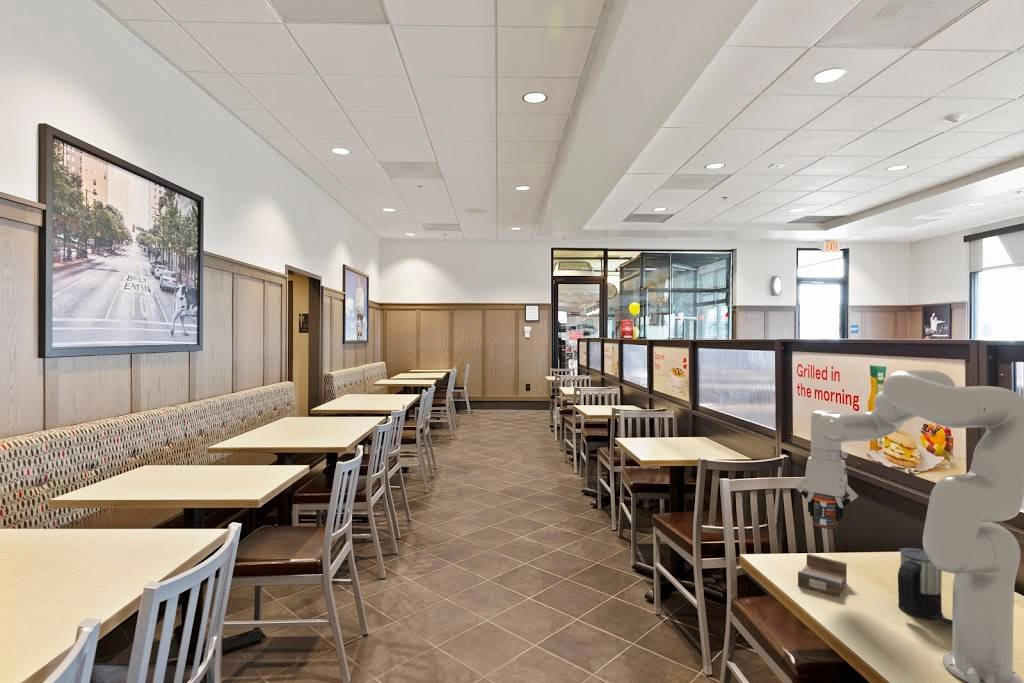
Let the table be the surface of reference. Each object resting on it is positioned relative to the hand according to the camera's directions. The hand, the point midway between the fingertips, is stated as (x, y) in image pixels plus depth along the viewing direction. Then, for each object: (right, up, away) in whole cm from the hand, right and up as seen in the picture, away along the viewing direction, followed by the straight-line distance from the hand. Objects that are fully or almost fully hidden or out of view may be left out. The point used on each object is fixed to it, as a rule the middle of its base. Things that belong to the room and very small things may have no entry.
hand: (825, 517), depth 152 cm
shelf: (-1, -19, 0) cm, 19 cm away
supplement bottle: (0, -3, 0) cm, 3 cm away
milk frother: (+17, -20, -18) cm, 32 cm away
